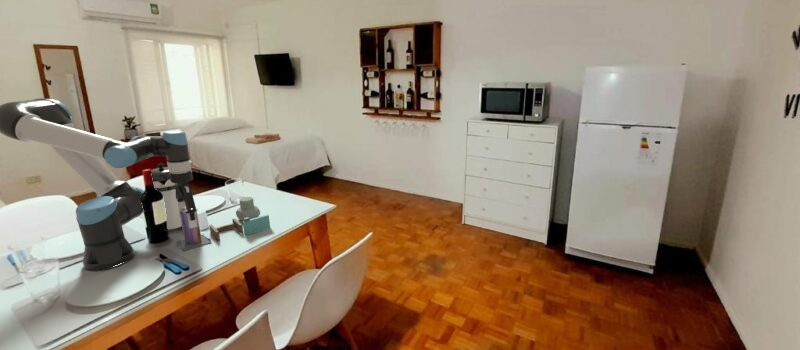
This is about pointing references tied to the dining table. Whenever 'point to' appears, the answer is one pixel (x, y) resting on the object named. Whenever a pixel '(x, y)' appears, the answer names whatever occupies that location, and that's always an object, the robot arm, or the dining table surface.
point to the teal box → (255, 224)
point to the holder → (225, 228)
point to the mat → (188, 247)
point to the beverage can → (190, 234)
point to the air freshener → (247, 209)
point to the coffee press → (167, 195)
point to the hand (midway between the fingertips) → (188, 221)
